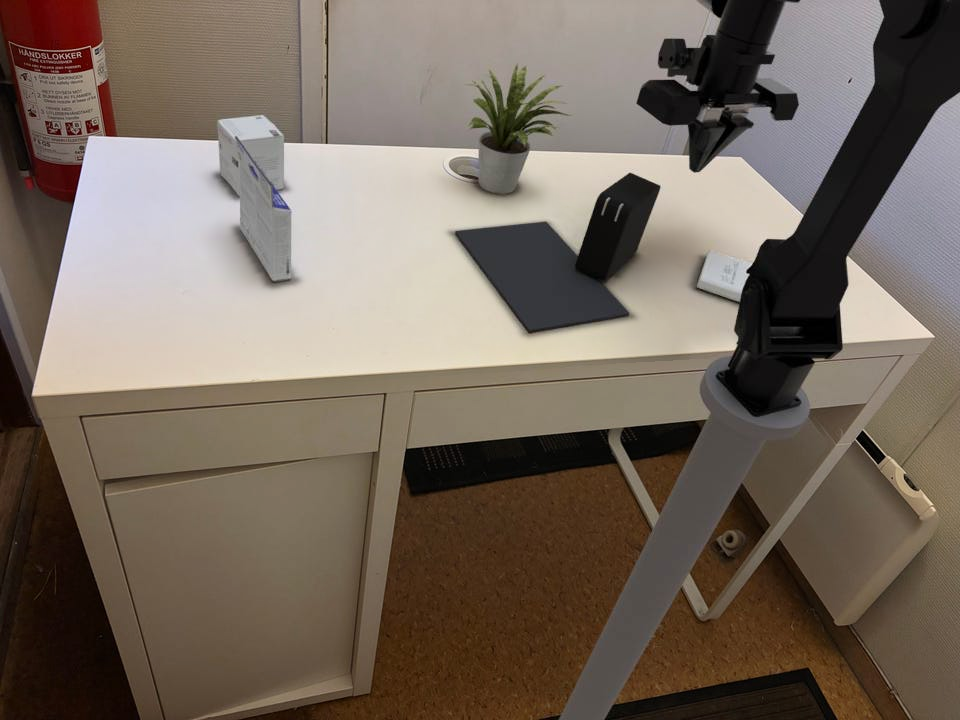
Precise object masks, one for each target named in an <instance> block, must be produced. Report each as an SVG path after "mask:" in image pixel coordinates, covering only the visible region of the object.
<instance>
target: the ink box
mask: <svg viewBox="0 0 960 720" xmlns="http://www.w3.org/2000/svg"><path fill="white" fill-rule="evenodd" d="M235 139H236V144H237V151H238V158H239V167H240V196H239V229H240V231H241V232H242V234H243V235H244V237H245V239H246V240H247V242H248V244H249V246H250V247H251V248H252V250H253V252H254V253H255V255H256V256H257V258H258V260H259V262H260V263H261V265H262V267H263V268H264V270H265V271H266V273H267V274H268V276H269V278H270V279H271V281H272V282H276V283H277V282H283V281H288V280H291V279H292V209H291V208H290V207H289V205H288V204H287V202H286V201H285V200H284V199H283V197H282V196H281V194H280V193H279V191H278V190H276V189H275V187H274V183H272V182H271V181H270V180H269V179H268V177H267V176H266V175H265V173H264V172H263V171H262V169H261V168H260V166H259V165H258V163H257V162H256V161H254V159H253V158H252V156H251V155H250V154H249V152H248V151H247V149H246V148H245V147H244V145H243V144H242V142H241V141H240V140H239V138H238V137H237V136H235Z"/></svg>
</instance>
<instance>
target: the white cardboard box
mask: <svg viewBox="0 0 960 720" xmlns="http://www.w3.org/2000/svg"><path fill="white" fill-rule="evenodd" d="M216 123H217V138H218V139H217V141H218V158H219V174H220V176H221V177H222V178H223V179H224V180H225V181H226V182H227V183H228V185H230V187H231V188H232V189H233V190H234V192H235V193H236V195H237V196H239V197H240V167H239V158H238V151H237V144H236V139H235V136H237V137H238V138H239V140H240V141H241V142H242V144H243V145H244V147H245V148H246V149H247V151H248V152H249V154H250V155H251V156H252V158H253V159H254V161H256V162H257V163H258V165H259V166H260V168H261V169H262V171H263V172H264V173H265V175H266V176H267V177H268V179H269V180H270V181H271V182H272V183H274V187H275V189H276V190H277V191H278V190H284V189H285V134H283V133H282V132H281V131H280V130H279V129H278V128H277V126H276V125H275V124H274V123H273V122H271V120H270V119H268V118H267V117H266V116H265V115H263V114H260V115H252V116H244V117H243V116H242V117H231V118H223V119H222V118H221V119H218V120H217V121H216Z"/></svg>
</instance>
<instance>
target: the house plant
mask: <svg viewBox="0 0 960 720" xmlns="http://www.w3.org/2000/svg"><path fill="white" fill-rule="evenodd" d="M518 64H519V63H516V65H515V67H514V70H513V72H512V75H511V79H510V84H509V89H508V94H507V97H506V105H505V104H504V97H503V91H502V88H501V85H500V82H499V80H498V79H497V77H496V76H495V74H494V73H493V72H492V70H490V69H488V72H489V75H488V74H485V76H486V77H488V78H490V79H491V82H492V87H493V91H494V94H495V101H496V105H495V101H494V98H493V96H492V94H491V92H490V90H489V89H488V87H487V85H486V83H485V82H484V80H482V79H480V78H479V77H477V79H478V80H479V82H481V83H482V84H483V86H484V88H485V89H486V90H484V89H483V88H482V87H481V85H479V84H478V83H477V82H475V80H473V79H471V81H472V82H473V84H470V83H466V84H465V83H464V84H463V83H461V86H462V85H463V86H471V87H476V88H477V89H478V91H479V92H480V94H481V95H482V96H483V98H479V97H478V98H477V97H476V98H473V103H475V104H476V105H477V106H478V107H479V108H480V109H481V110H482V111H483V112H484V113H485V114H486V116H487V118H488V119H489V121H490V124H491V125H490V124H488V123H487V122H486V121H485V120H484V119H483V118H480V117H477V116H475V117H473V118H472V119H471V121H470V123H469V125H468V127H470V126H471V127H470V128H469V130H468V131H470V130H473V129H481V128H482V129H484V128H485V129H488V130H489V131H486V132H483V133H481V134H480V135H479V136H478V185H479V186H480V188H482V189H483V190H485V191H487V192H489V193H493V194H498V195H499V194H500V195H506V194H510V193H513V192H514V191H515V189H516V188H517V184H518V182H519V180H520V176H521V175H522V171H523V169H524V166H525V163H526V161H527V159H528V157H529V153H530V151H531V144H530V142H529V137H528V136H529V135H532V134H533V133H534V134H535V133H536V134H545V135H549V136H552V137H554V135H553V133H552V132H551V130H550V129H548V128H552V129H554V130H555V131H557V129H559V127H557V126H555V125H553V124H552V123H551V122H549V121H548V120H543V119H542V120H540V119H539V120H534V121H532V120H533V119H534V118H536V117H539V116H541V115H542V116H543V115H562V116H567V117H568V116H569V117H571V116H572V115H571V114H567V113H564V112H561V111H558V110H556V109H557V108H555V107H554V106H552V105H547V104H562V105H568V103H567V102H563V101H557V100H546V101H543V100H544V99H545V98H546V97H547V96H548V95H549V94H550V93H551V92H553V91H555V90H557V89H559V88H561V87H562V85H554V86H551V87H548V88H546V89H544V90H543V91H541V92H540V93H539V94H537V95H536V96H534V97H533V98H532V99H530V100H529V101H528V102H525V100H526V99H527V97H528V96H529V95H530V94H531V92H532V91H533V90H534V88H535V87H536V86H537V85H538V84H539V83H540V82H541V81H542V80H543V78H544V77H545V76H546V74H543V75H542V76H540V77H539V78H537V79H536V80H534V81H533V82H532V83H531V84H530V85H528V86H527V87H526V74H527V65H526V66H523V67H522V68H521V69H520V70H519V72H518V69H519V67H518V66H519V65H518ZM525 87H526V88H525ZM541 101H542V102H541ZM524 102H525V103H524ZM544 104H545V105H544ZM523 105H525V106H524V107H523V109H521V112H519V111H520V108H521V107H522V106H523ZM540 105H541V106H540ZM536 106H538V107H537V108H535V109H533V108H534V107H536ZM545 108H550V109H545ZM518 112H519V113H518ZM530 121H531V122H530ZM535 125H542V126H537V127H532V126H535ZM530 127H531V128H530Z"/></svg>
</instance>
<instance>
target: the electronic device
mask: <svg viewBox="0 0 960 720" xmlns="http://www.w3.org/2000/svg"><path fill="white" fill-rule="evenodd" d="M661 188H662V187H661V185H660V184H658V183H656V182H654V181H651V180H648V179H647V178H644V177H642V176H639V175H637V174H635V173H633V172H628V173H627V174H625V175H624V176H623V177H621V178H620V179H618V180H617V181H615V182H614V183H613V184H611V185H610V186H608V187H607V188H606V189H604V190H602V192H600V193H599V195H598V196H597V198H596V201H595V203H594V206H593V209H592V212H591V215H590V219H589V222H588V224H587V228H586V231H585V233H584V236H583V240H582V243H581V246H580V249H579V251H578V254H577V256H578V258H577V261H576V264H575V268H577V269H579V270H581V271H583V272H585V273H587V274H589V275H591V276H593V277H595V278H597V279H599V280H600V281H601V282H603V283H606V282H607V281H608V280H610V279H611V278H612V277H613V276H614V275H615V274H616V273H617V272H618V271H620V269H622V268H623V267H625V265H626V264H627V263H628V262H629V261H631V259H632V258H634V256H635V255H636V253H637V250H638V249H639V246H640V243H641V240H642V238H643V235H644V233H645V230H646V228H647V225H648V223H649V220H650V218H651V215H652V212H653V210H654V207H655V204H656V201H657V199H658V196H659V194H660V190H661Z"/></svg>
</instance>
